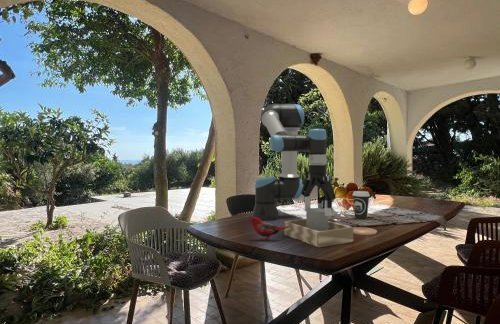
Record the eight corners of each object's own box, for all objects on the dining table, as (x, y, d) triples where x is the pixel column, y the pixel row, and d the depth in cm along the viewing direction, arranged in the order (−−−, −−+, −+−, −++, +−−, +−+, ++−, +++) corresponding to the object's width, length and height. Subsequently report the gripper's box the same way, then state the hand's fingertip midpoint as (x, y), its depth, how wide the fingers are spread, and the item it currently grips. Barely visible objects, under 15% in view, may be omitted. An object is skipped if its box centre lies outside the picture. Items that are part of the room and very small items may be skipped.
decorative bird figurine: (249, 238, 148) (249, 215, 148) (290, 239, 146) (290, 216, 146) (248, 240, 145) (248, 217, 145) (290, 241, 143) (290, 217, 143)
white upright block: (314, 234, 156) (314, 207, 156) (332, 238, 149) (332, 210, 149) (301, 237, 149) (301, 210, 149) (320, 242, 143) (320, 212, 142)
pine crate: (283, 234, 156) (283, 221, 155) (315, 230, 164) (315, 217, 164) (319, 247, 134) (319, 232, 134) (353, 241, 143) (353, 227, 143)
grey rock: (332, 228, 185) (338, 215, 179) (317, 222, 187) (322, 209, 181) (334, 217, 192) (340, 205, 186) (320, 211, 194) (326, 199, 188)
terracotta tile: (344, 230, 162) (344, 228, 162) (362, 228, 168) (362, 226, 168) (363, 236, 152) (363, 234, 152) (382, 233, 158) (382, 231, 158)
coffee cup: (372, 219, 189) (372, 192, 189) (354, 219, 189) (355, 192, 189) (366, 216, 199) (366, 190, 198) (350, 216, 199) (350, 190, 198)
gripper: (293, 164, 158) (293, 210, 158) (330, 165, 136) (330, 218, 136) (306, 163, 161) (306, 208, 161) (344, 164, 139) (344, 216, 140)
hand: (317, 213), depth 149 cm, fingers open, 13 cm apart
